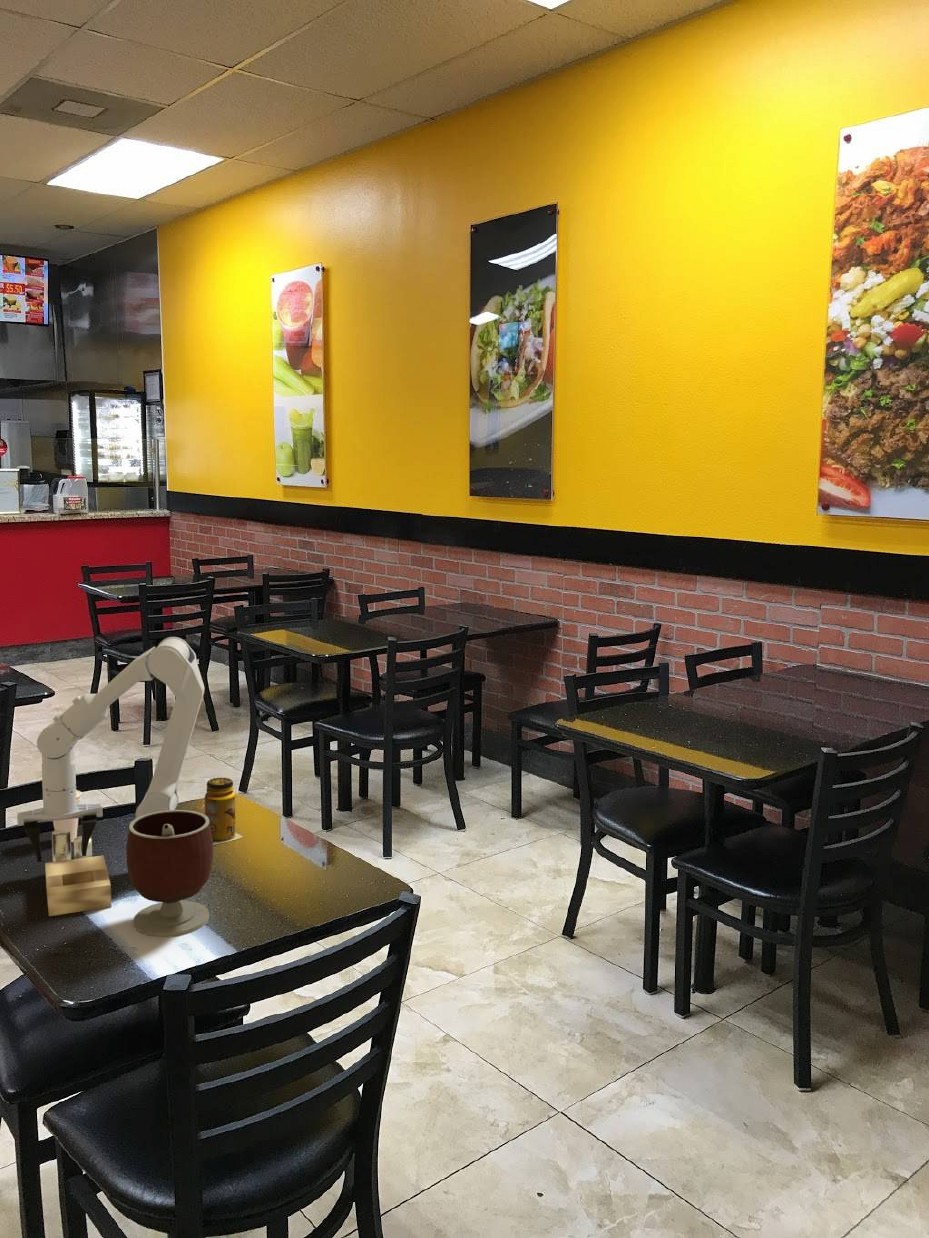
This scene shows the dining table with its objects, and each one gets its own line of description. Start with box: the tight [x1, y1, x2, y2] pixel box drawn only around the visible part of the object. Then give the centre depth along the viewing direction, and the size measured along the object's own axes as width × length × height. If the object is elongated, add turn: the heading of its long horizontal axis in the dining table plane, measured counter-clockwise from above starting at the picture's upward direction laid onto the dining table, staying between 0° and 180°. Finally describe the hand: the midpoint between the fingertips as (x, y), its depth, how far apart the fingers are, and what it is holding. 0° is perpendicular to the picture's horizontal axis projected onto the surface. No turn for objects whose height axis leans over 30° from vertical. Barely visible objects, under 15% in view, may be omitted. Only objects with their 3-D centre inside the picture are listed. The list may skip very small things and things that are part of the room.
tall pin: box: [51, 829, 72, 862], centre depth 186 cm, size 3×3×8 cm
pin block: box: [44, 855, 112, 917], centre depth 177 cm, size 10×14×4 cm
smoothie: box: [52, 789, 83, 843], centre depth 201 cm, size 6×6×14 cm
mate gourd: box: [125, 809, 214, 938], centre depth 166 cm, size 16×14×20 cm
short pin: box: [73, 835, 93, 859], centre depth 193 cm, size 3×3×4 cm
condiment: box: [204, 777, 244, 846], centre depth 205 cm, size 7×8×12 cm
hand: (61, 857), depth 186 cm, fingers open, 7 cm apart
